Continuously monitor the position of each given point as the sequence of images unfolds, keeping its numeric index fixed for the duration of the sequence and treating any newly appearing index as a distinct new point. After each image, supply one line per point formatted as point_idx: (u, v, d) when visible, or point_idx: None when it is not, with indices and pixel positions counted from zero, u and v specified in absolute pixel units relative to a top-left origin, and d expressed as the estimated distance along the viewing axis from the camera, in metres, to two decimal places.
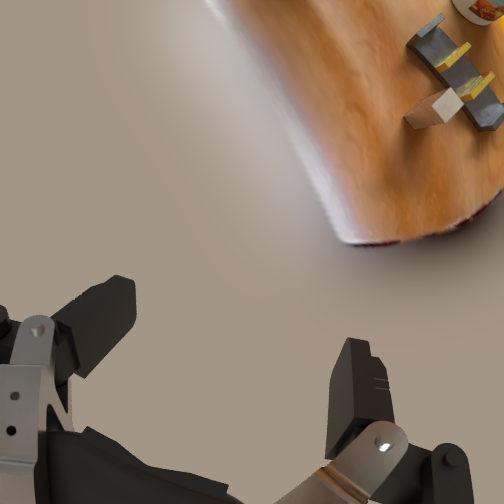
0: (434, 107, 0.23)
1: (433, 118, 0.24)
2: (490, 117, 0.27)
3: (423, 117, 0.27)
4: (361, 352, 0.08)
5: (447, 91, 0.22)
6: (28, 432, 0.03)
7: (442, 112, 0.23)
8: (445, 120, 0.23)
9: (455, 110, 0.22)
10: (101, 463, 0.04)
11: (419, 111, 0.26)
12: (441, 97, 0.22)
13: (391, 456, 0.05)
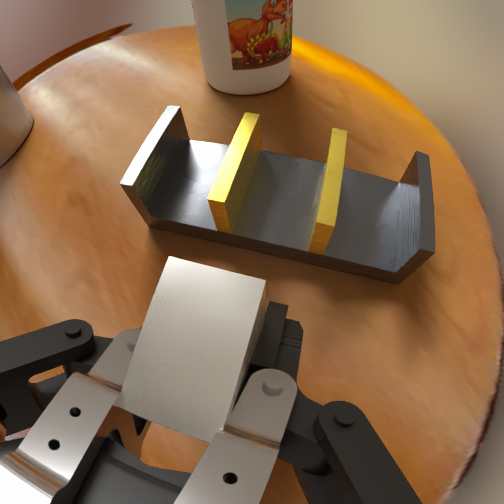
0: (132, 402, 0.05)
1: None
2: (401, 229, 0.15)
3: None
4: (276, 313, 0.10)
5: (162, 287, 0.06)
6: (72, 455, 0.03)
7: (177, 405, 0.05)
8: (210, 433, 0.05)
9: (237, 346, 0.06)
10: (101, 463, 0.04)
11: None
12: (144, 336, 0.06)
13: (273, 400, 0.06)
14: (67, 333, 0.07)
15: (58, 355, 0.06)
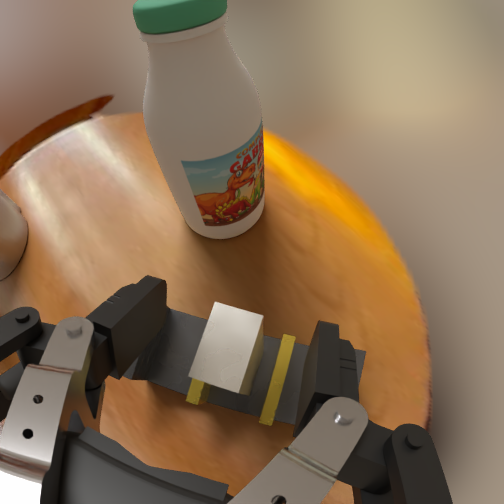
0: (196, 374, 0.12)
1: None
2: None
3: None
4: (329, 334, 0.09)
5: (211, 317, 0.13)
6: (46, 439, 0.04)
7: (219, 374, 0.12)
8: (235, 387, 0.11)
9: (249, 346, 0.12)
10: (101, 463, 0.04)
11: None
12: (203, 341, 0.12)
13: (348, 431, 0.06)
14: (18, 319, 0.07)
15: (14, 340, 0.06)
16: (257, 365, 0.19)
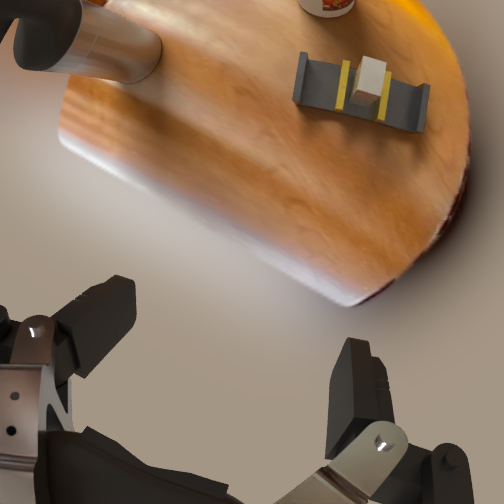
0: (361, 88, 0.22)
1: (368, 96, 0.24)
2: (413, 113, 0.29)
3: (361, 98, 0.26)
4: (361, 352, 0.09)
5: (363, 62, 0.22)
6: (28, 433, 0.03)
7: (371, 87, 0.22)
8: (379, 93, 0.22)
9: (382, 75, 0.22)
10: (101, 463, 0.04)
11: (354, 95, 0.26)
12: (361, 73, 0.22)
13: (391, 456, 0.05)
14: None
15: None
16: None
